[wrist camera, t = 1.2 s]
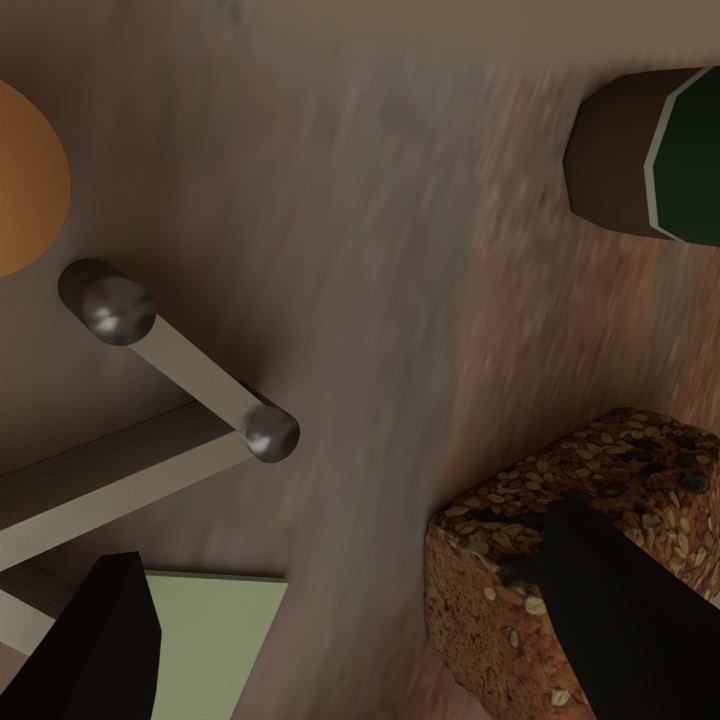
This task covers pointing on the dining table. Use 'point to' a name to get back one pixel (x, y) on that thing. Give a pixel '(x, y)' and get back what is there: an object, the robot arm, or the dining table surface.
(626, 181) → the beer bottle
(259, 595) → the pad
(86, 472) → the bent rail
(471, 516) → the bread
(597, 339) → the dining table surface
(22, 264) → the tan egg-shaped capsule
